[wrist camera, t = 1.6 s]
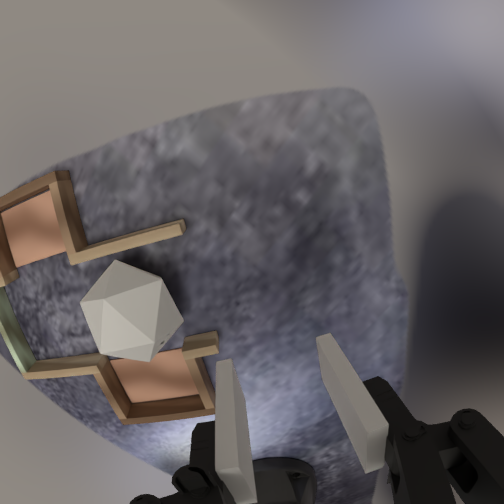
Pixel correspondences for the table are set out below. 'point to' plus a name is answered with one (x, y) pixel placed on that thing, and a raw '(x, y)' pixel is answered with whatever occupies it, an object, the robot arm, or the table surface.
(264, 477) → the robot arm
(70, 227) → the channel
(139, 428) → the table surface
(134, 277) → the die
